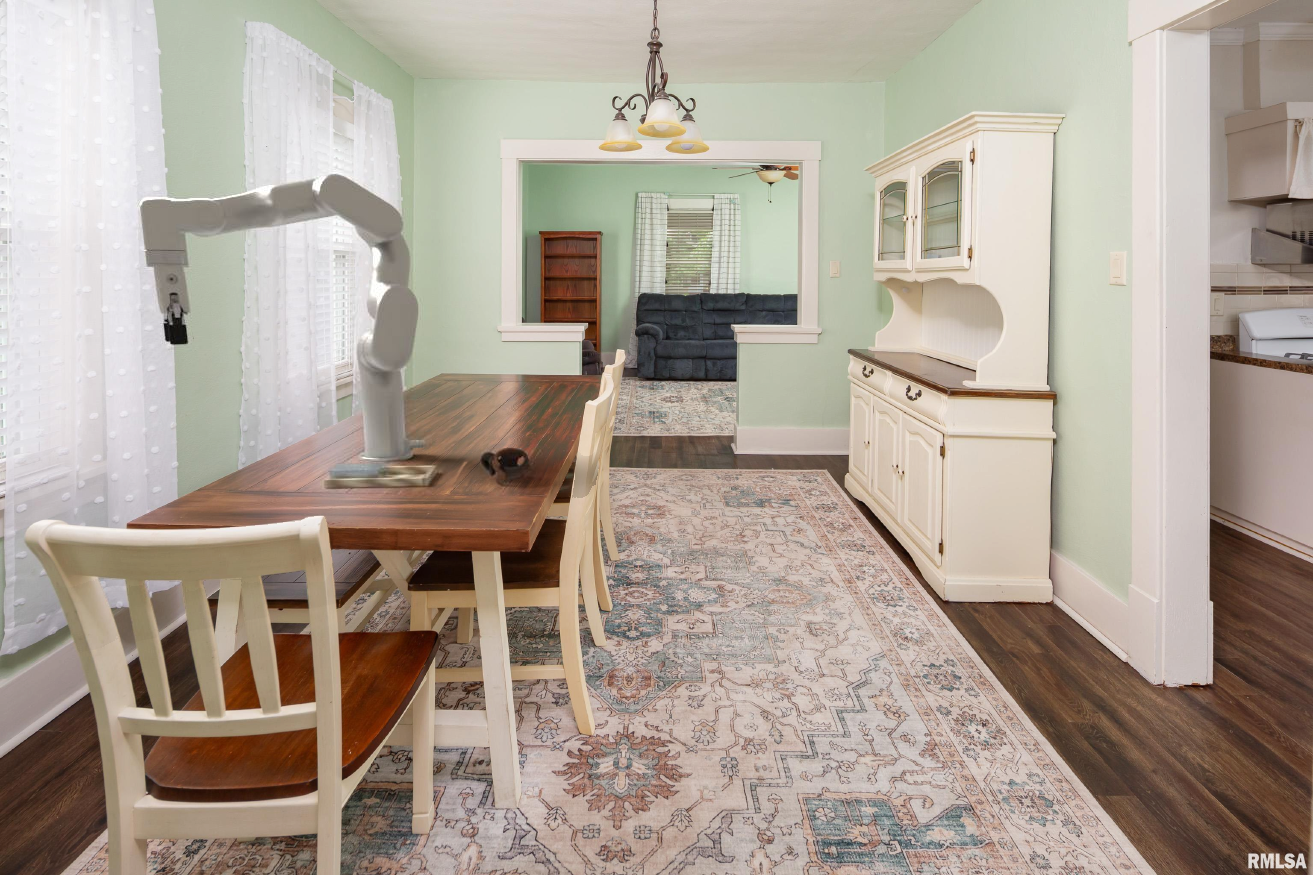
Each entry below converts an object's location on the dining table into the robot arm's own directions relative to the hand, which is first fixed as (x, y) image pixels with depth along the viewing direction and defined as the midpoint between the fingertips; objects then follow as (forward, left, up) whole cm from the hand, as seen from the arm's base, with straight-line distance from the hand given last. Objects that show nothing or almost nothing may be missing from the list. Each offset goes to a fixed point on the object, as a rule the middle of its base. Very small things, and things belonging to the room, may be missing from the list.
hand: (176, 342), depth 172 cm
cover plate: (-31, +21, -29) cm, 47 cm away
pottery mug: (-59, +34, -30) cm, 75 cm away
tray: (-35, +23, -30) cm, 52 cm away
